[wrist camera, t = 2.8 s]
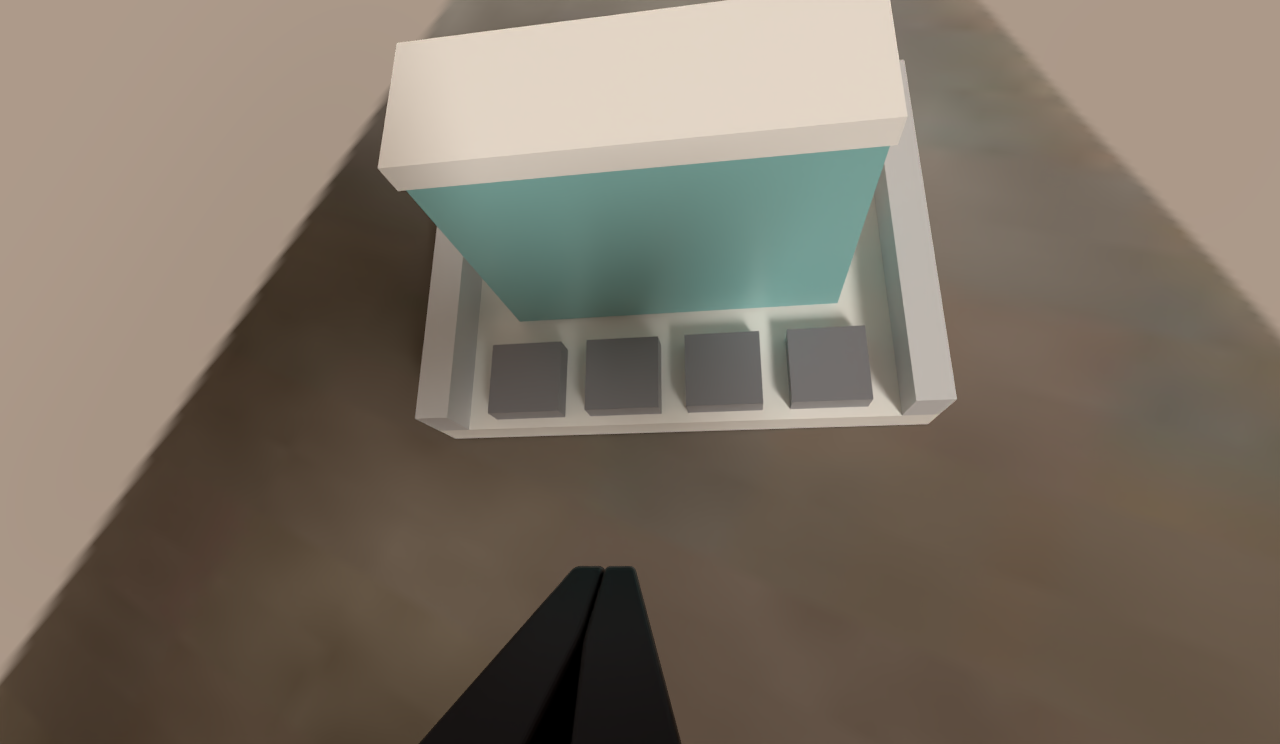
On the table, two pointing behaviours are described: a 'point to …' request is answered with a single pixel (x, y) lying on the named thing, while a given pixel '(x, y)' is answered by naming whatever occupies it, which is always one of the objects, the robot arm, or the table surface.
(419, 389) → the white slotted tray
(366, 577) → the table surface
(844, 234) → the teal and cream panel
